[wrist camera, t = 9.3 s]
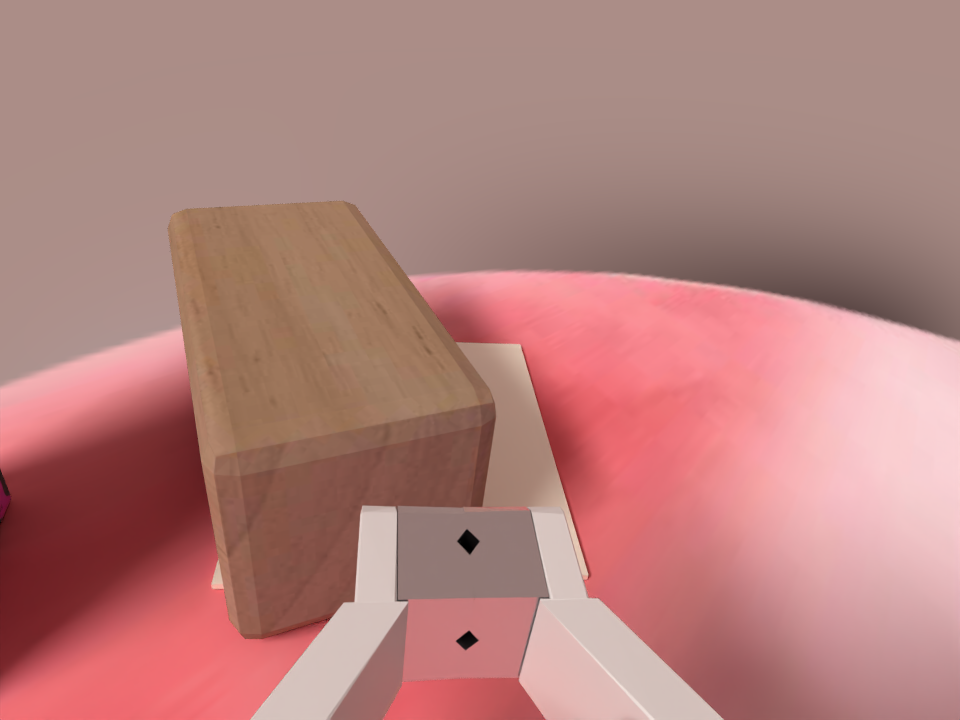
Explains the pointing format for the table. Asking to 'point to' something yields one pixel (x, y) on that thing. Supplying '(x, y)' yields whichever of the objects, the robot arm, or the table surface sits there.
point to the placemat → (512, 440)
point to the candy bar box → (3, 496)
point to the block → (315, 399)
